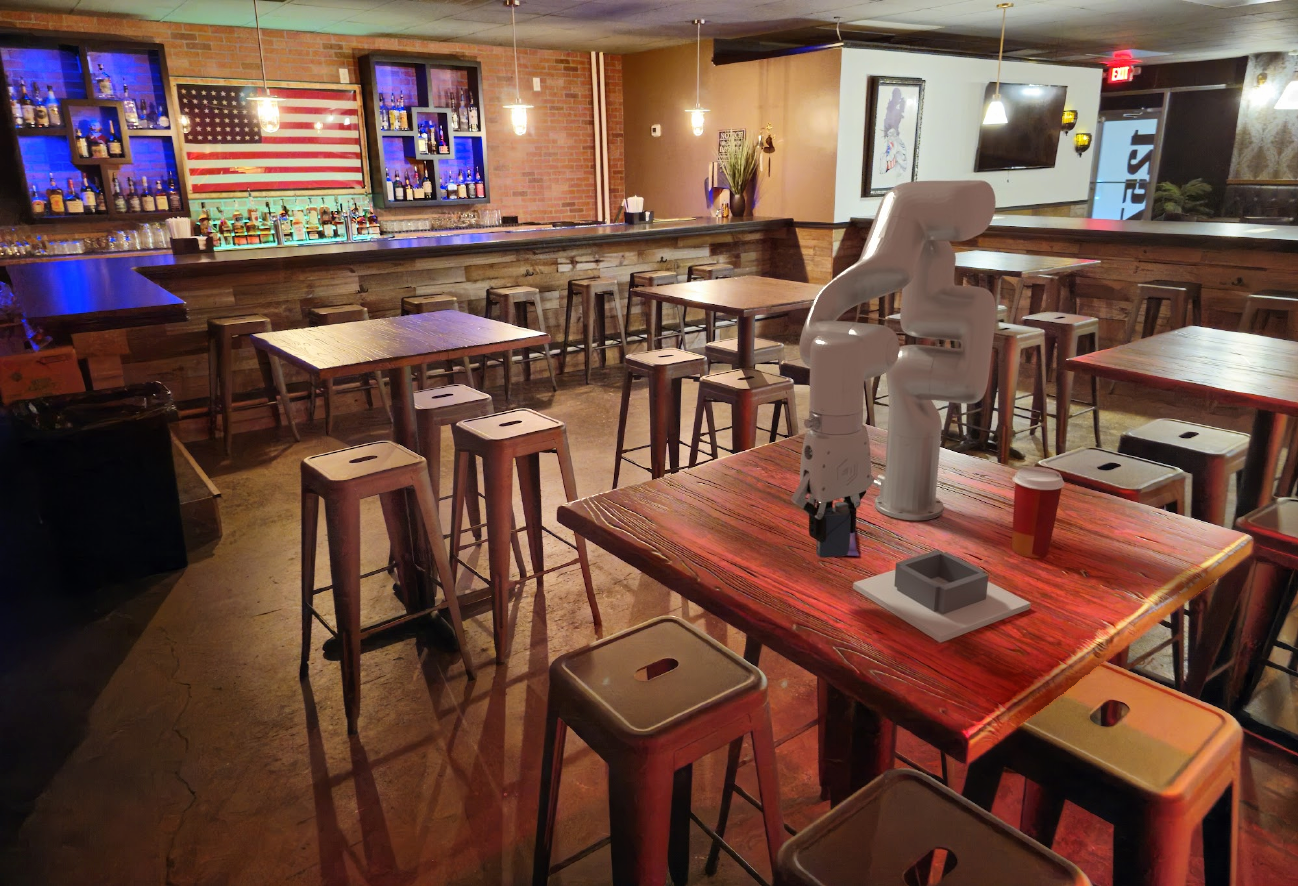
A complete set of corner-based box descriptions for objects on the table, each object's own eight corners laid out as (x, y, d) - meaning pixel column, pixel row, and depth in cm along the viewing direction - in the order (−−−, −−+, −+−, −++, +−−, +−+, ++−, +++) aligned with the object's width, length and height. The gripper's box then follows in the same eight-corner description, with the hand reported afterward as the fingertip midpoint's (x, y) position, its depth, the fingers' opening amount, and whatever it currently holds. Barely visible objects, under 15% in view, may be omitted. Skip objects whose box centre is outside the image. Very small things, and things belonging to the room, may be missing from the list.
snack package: (859, 550, 139) (829, 549, 139) (859, 561, 139) (829, 560, 140) (855, 522, 149) (827, 521, 150) (855, 532, 150) (827, 531, 151)
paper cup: (1052, 543, 142) (1062, 467, 137) (1057, 563, 135) (1068, 484, 130) (1002, 538, 144) (1011, 463, 140) (1005, 557, 137) (1014, 479, 133)
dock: (853, 588, 129) (854, 559, 127) (937, 561, 137) (939, 534, 135) (940, 642, 114) (943, 610, 112) (1029, 609, 122) (1033, 578, 120)
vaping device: (812, 551, 127) (814, 479, 122) (846, 548, 127) (849, 476, 123) (817, 559, 124) (819, 485, 120) (851, 556, 124) (854, 483, 120)
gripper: (804, 439, 111) (802, 559, 118) (899, 416, 119) (892, 529, 125) (771, 424, 118) (771, 539, 124) (863, 403, 125) (859, 512, 131)
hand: (832, 533), depth 124 cm, fingers closed on vaping device, 4 cm apart
